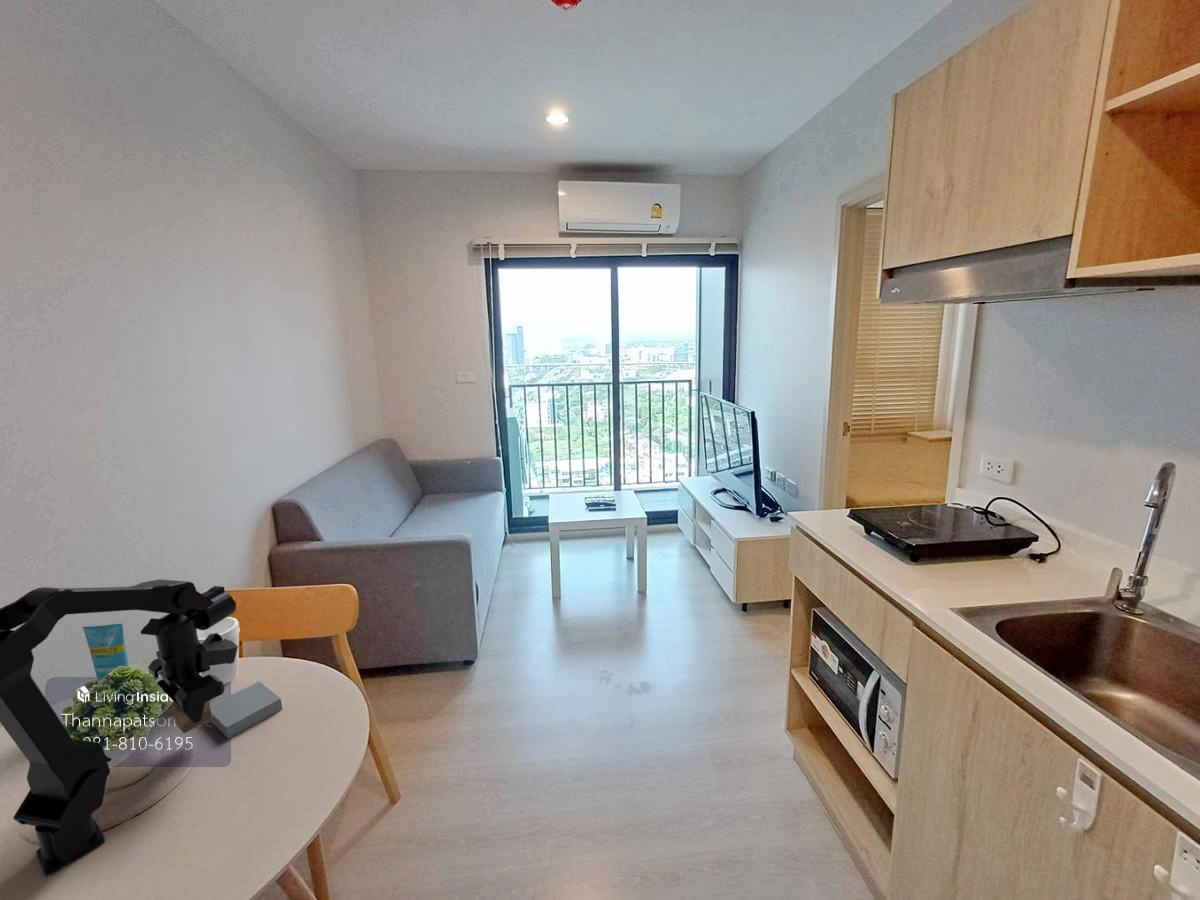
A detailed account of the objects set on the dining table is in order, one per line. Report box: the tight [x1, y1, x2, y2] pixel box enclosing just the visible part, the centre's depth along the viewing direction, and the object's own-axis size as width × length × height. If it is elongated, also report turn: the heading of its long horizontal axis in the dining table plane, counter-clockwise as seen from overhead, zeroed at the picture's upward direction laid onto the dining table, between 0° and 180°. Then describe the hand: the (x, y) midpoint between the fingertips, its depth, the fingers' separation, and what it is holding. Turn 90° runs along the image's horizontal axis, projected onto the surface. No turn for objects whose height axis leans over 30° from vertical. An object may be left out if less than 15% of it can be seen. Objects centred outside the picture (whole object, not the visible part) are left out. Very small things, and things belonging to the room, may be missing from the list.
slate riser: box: [209, 681, 283, 739], centre depth 106 cm, size 10×10×2 cm
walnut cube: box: [171, 700, 212, 734], centre depth 97 cm, size 4×4×4 cm
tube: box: [81, 622, 130, 682], centre depth 107 cm, size 7×5×19 cm, turn 103°
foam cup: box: [196, 616, 241, 686], centre depth 116 cm, size 10×9×13 cm
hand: (192, 716), depth 97 cm, fingers closed on walnut cube, 4 cm apart
